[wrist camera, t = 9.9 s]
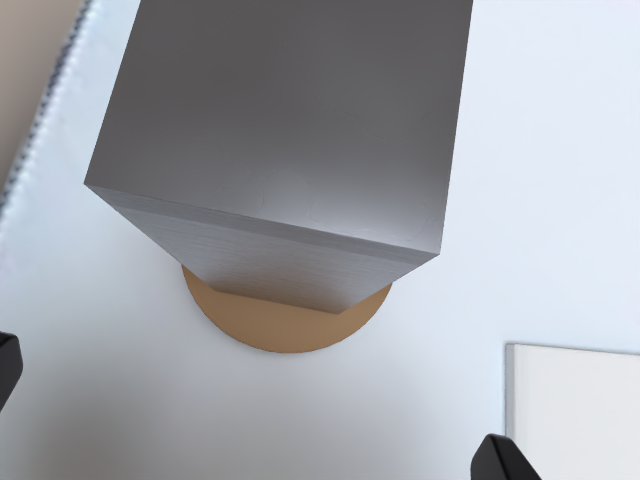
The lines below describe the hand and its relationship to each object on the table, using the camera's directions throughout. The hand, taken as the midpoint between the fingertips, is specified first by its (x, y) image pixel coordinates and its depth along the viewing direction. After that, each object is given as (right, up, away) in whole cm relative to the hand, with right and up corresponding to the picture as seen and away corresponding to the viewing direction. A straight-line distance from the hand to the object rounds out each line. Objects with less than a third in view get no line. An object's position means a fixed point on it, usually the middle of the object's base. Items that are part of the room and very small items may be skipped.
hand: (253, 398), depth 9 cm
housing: (0, +3, +11) cm, 11 cm away
